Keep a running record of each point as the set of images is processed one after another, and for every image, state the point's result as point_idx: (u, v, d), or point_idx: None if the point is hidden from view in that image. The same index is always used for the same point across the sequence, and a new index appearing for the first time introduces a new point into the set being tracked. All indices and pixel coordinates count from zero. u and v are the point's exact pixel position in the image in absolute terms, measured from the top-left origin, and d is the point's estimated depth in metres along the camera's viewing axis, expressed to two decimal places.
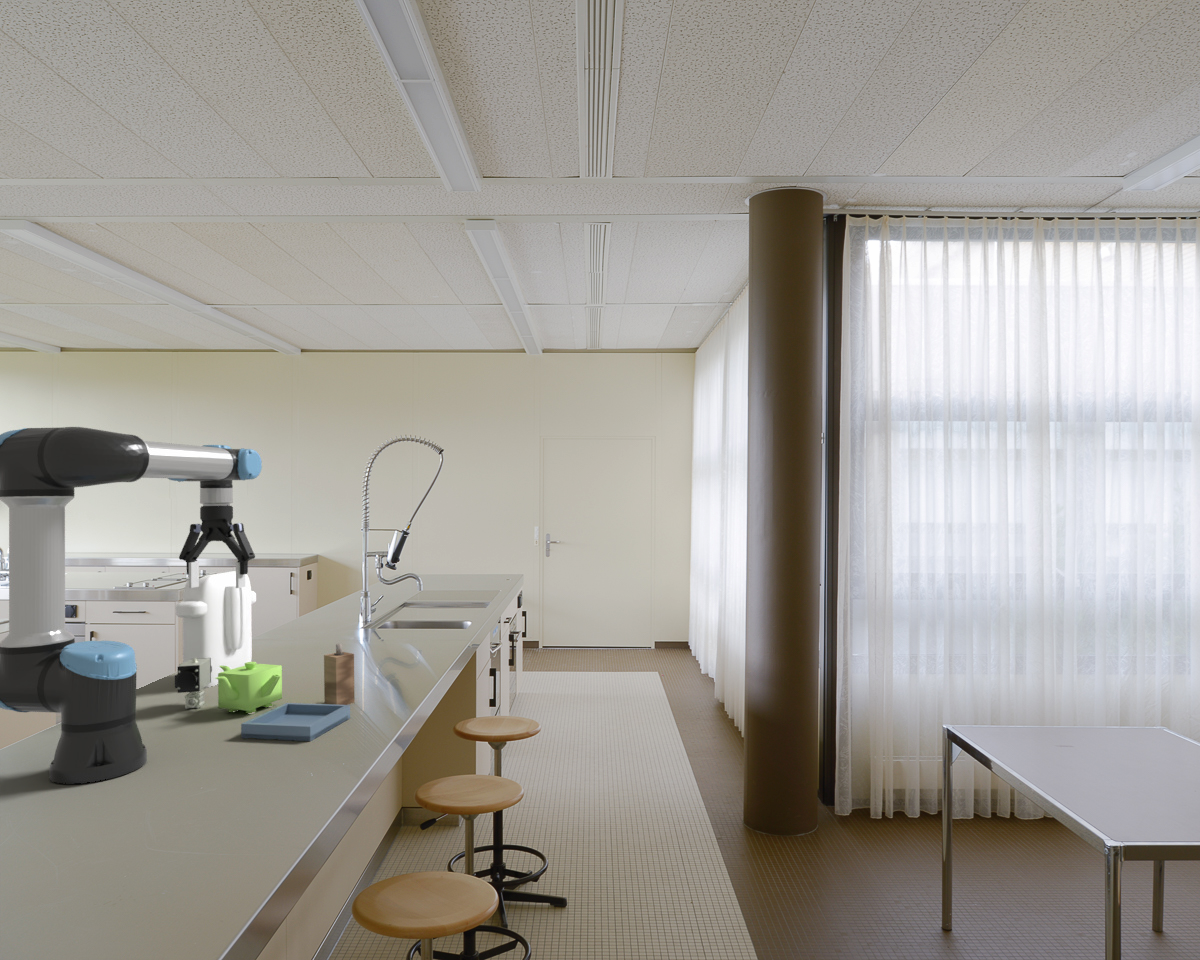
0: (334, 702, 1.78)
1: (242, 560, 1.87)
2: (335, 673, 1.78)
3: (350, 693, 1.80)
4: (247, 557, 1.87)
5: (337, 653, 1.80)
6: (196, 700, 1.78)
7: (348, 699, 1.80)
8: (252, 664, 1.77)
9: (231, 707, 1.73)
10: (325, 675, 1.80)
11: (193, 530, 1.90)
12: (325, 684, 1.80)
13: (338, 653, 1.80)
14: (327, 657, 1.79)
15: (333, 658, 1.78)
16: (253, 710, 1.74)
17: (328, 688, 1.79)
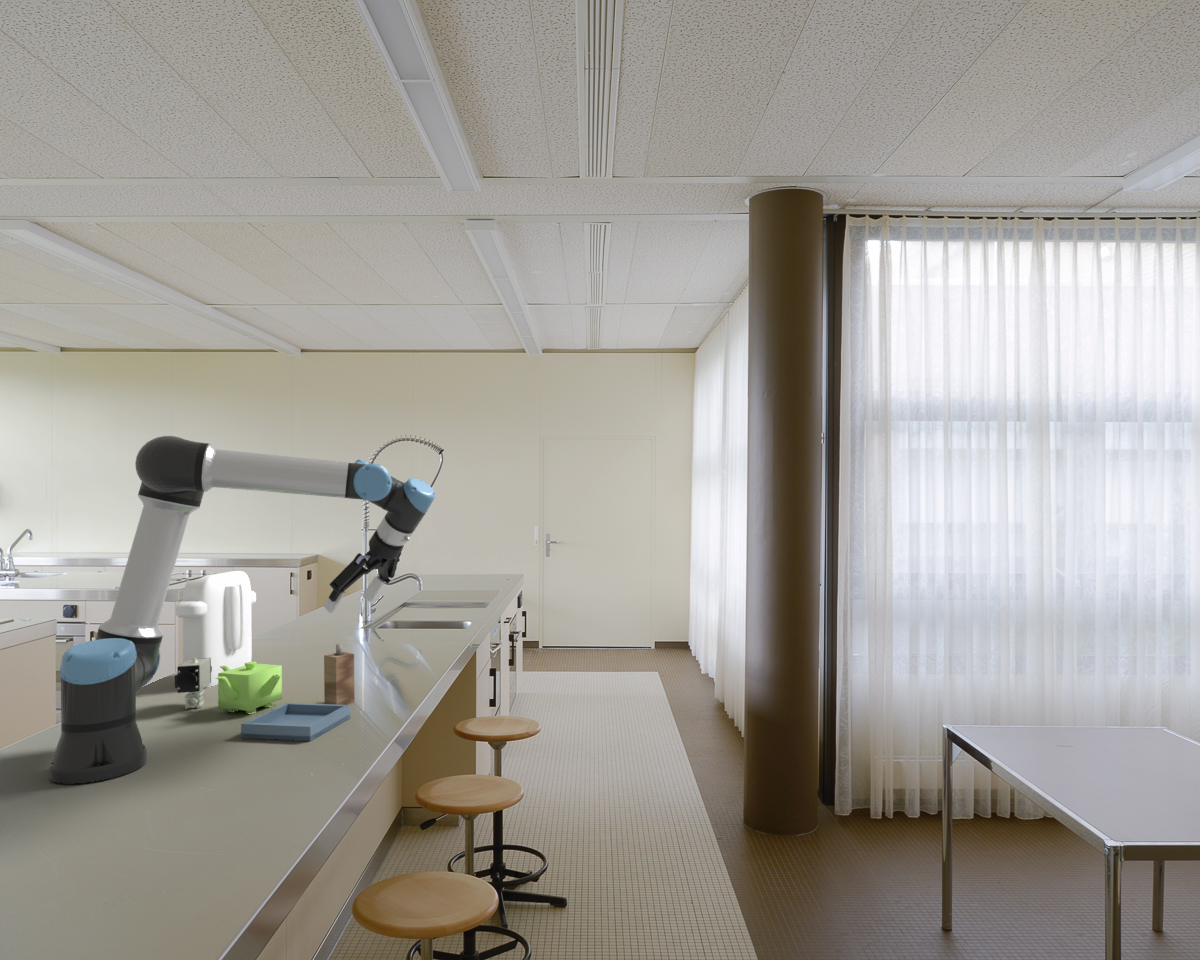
0: (334, 702, 1.78)
1: None
2: (335, 673, 1.78)
3: (350, 693, 1.80)
4: None
5: (337, 653, 1.80)
6: (196, 700, 1.78)
7: (348, 699, 1.80)
8: (252, 664, 1.77)
9: (231, 707, 1.73)
10: (325, 675, 1.80)
11: None
12: (325, 684, 1.80)
13: (338, 653, 1.80)
14: (327, 657, 1.79)
15: (333, 658, 1.78)
16: (253, 710, 1.74)
17: (328, 688, 1.79)
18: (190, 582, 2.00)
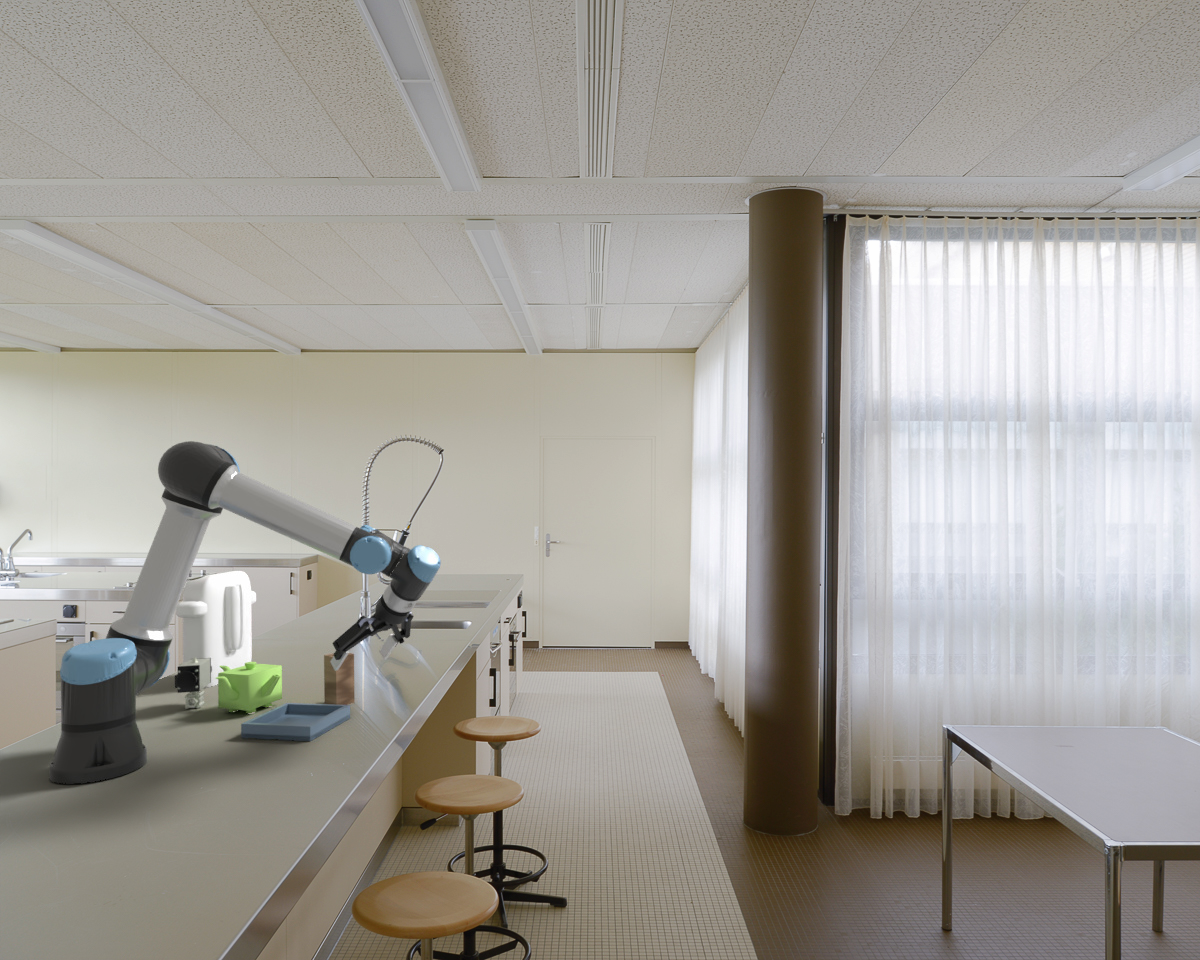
0: (334, 702, 1.78)
1: None
2: (335, 673, 1.78)
3: (350, 693, 1.80)
4: None
5: None
6: (196, 700, 1.78)
7: (348, 699, 1.80)
8: (252, 664, 1.77)
9: (231, 707, 1.73)
10: (325, 675, 1.80)
11: None
12: (325, 684, 1.80)
13: None
14: (327, 657, 1.79)
15: None
16: (253, 710, 1.74)
17: (328, 688, 1.79)
18: (190, 582, 2.00)
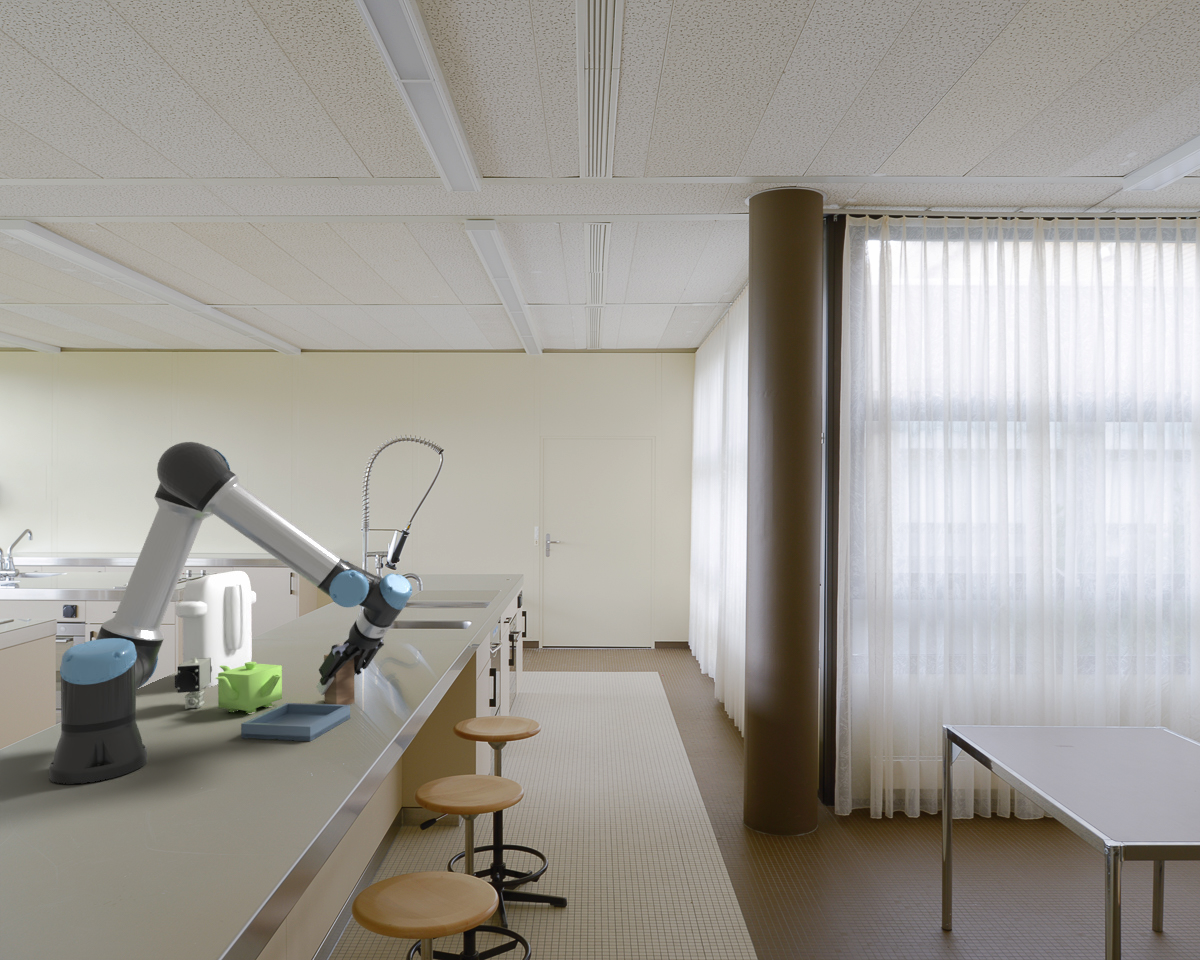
0: (334, 702, 1.78)
1: None
2: None
3: (350, 693, 1.80)
4: None
5: None
6: (196, 700, 1.78)
7: (348, 699, 1.80)
8: (252, 664, 1.77)
9: (231, 707, 1.73)
10: None
11: None
12: None
13: None
14: None
15: None
16: (253, 710, 1.74)
17: (328, 688, 1.79)
18: (190, 582, 2.00)
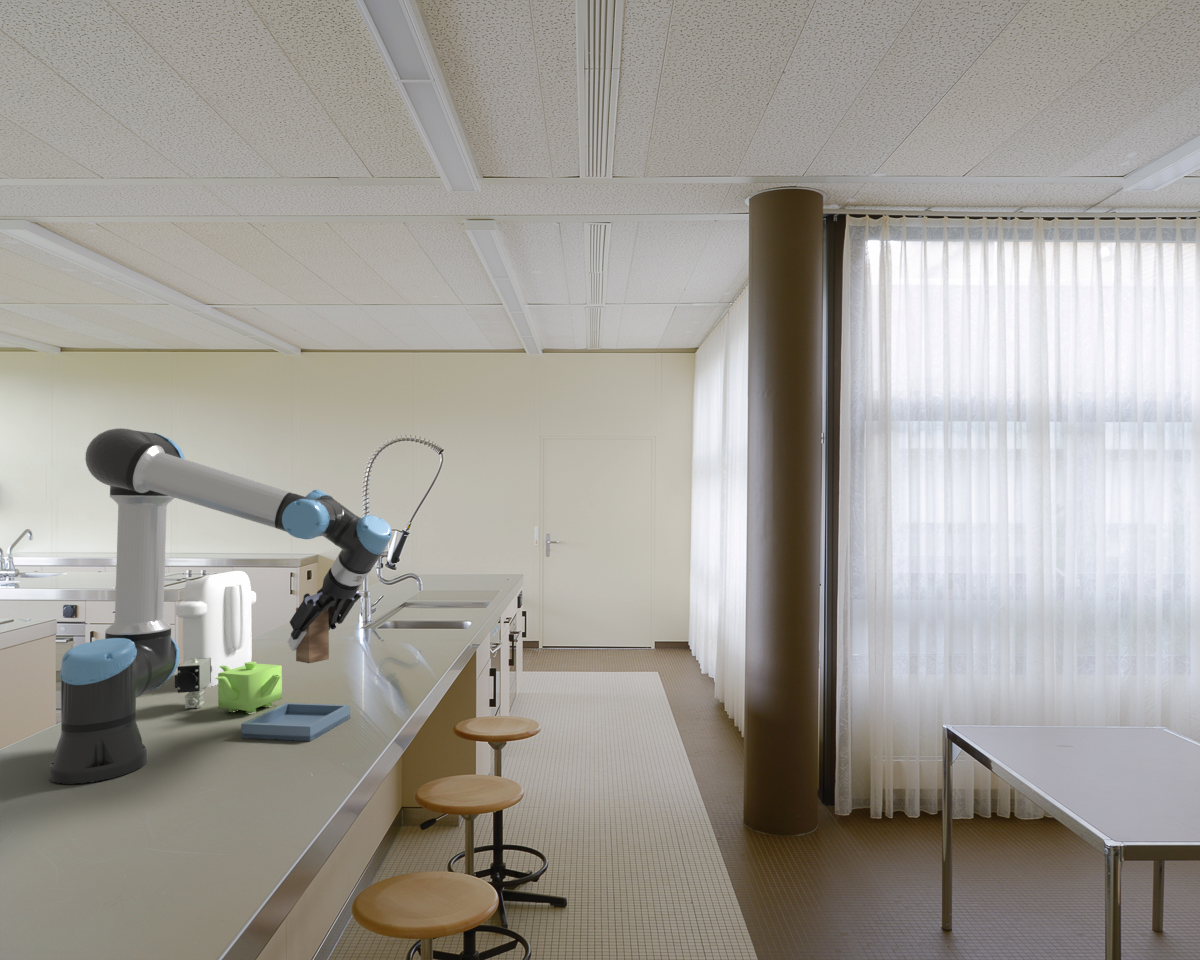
0: (306, 657, 1.65)
1: None
2: None
3: (324, 649, 1.67)
4: None
5: None
6: (196, 700, 1.78)
7: (322, 655, 1.67)
8: (252, 664, 1.77)
9: (231, 707, 1.73)
10: None
11: None
12: None
13: None
14: None
15: None
16: (253, 710, 1.74)
17: (300, 643, 1.66)
18: (190, 582, 2.00)
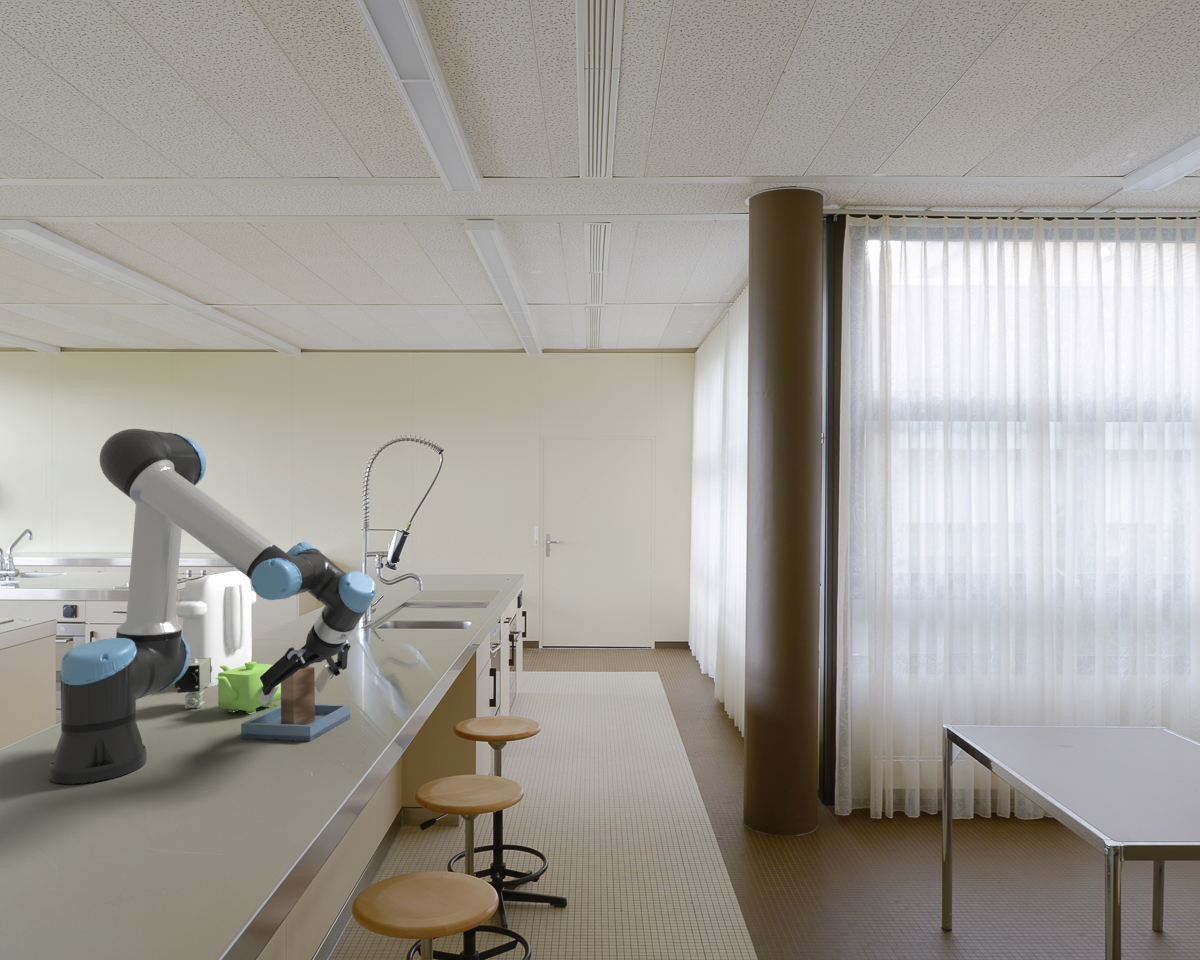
0: (291, 722, 1.59)
1: None
2: (292, 689, 1.59)
3: (310, 711, 1.61)
4: None
5: None
6: (196, 700, 1.78)
7: (308, 718, 1.61)
8: (252, 664, 1.77)
9: (231, 707, 1.73)
10: (282, 691, 1.61)
11: None
12: (281, 701, 1.61)
13: None
14: None
15: None
16: (253, 710, 1.74)
17: (285, 706, 1.60)
18: (190, 582, 2.00)
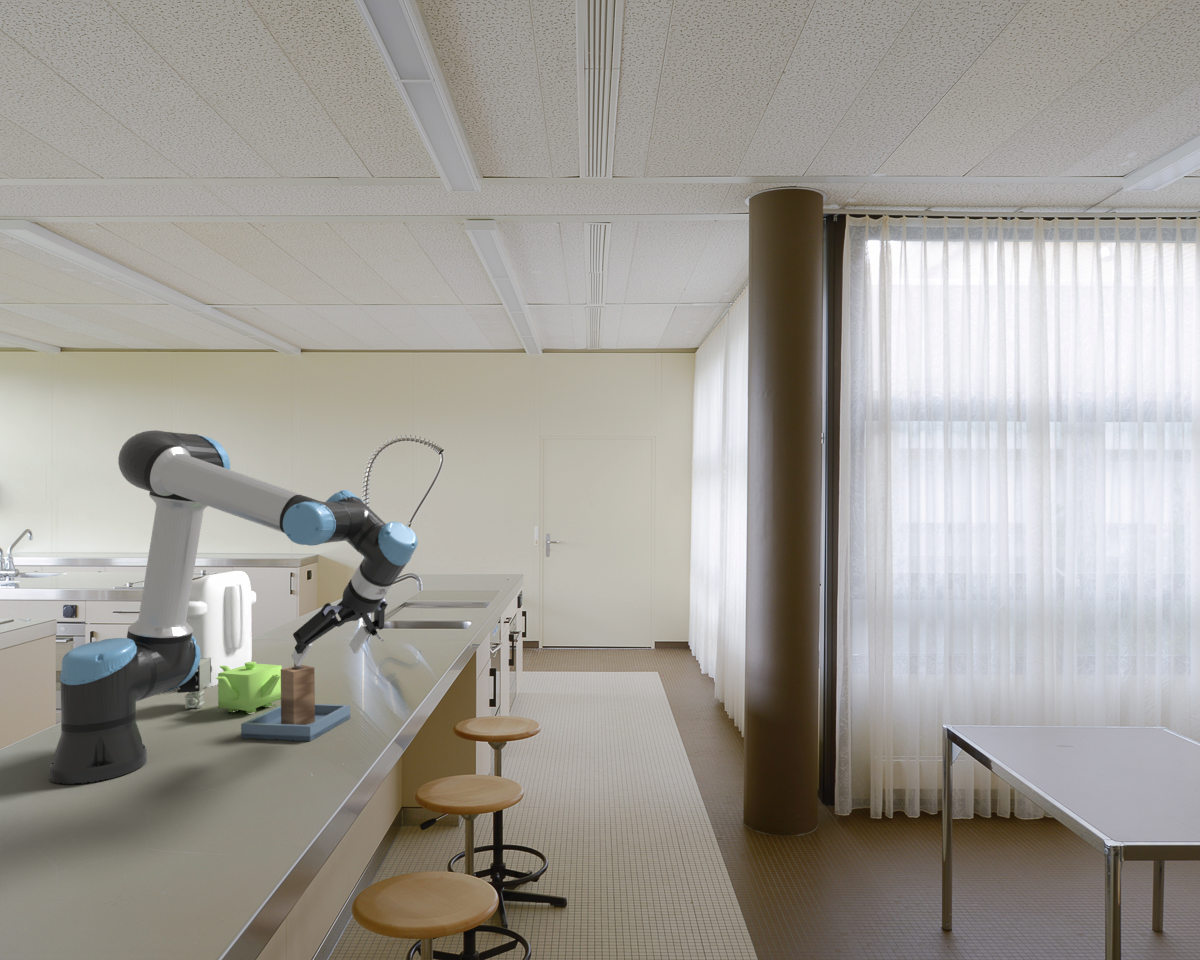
0: (291, 722, 1.59)
1: None
2: (292, 689, 1.59)
3: (310, 711, 1.61)
4: None
5: (295, 667, 1.61)
6: (196, 700, 1.78)
7: (308, 718, 1.61)
8: (252, 664, 1.77)
9: (231, 707, 1.73)
10: (282, 691, 1.61)
11: None
12: (281, 701, 1.61)
13: (296, 667, 1.61)
14: (284, 671, 1.61)
15: (290, 673, 1.59)
16: (253, 710, 1.74)
17: (285, 706, 1.60)
18: None
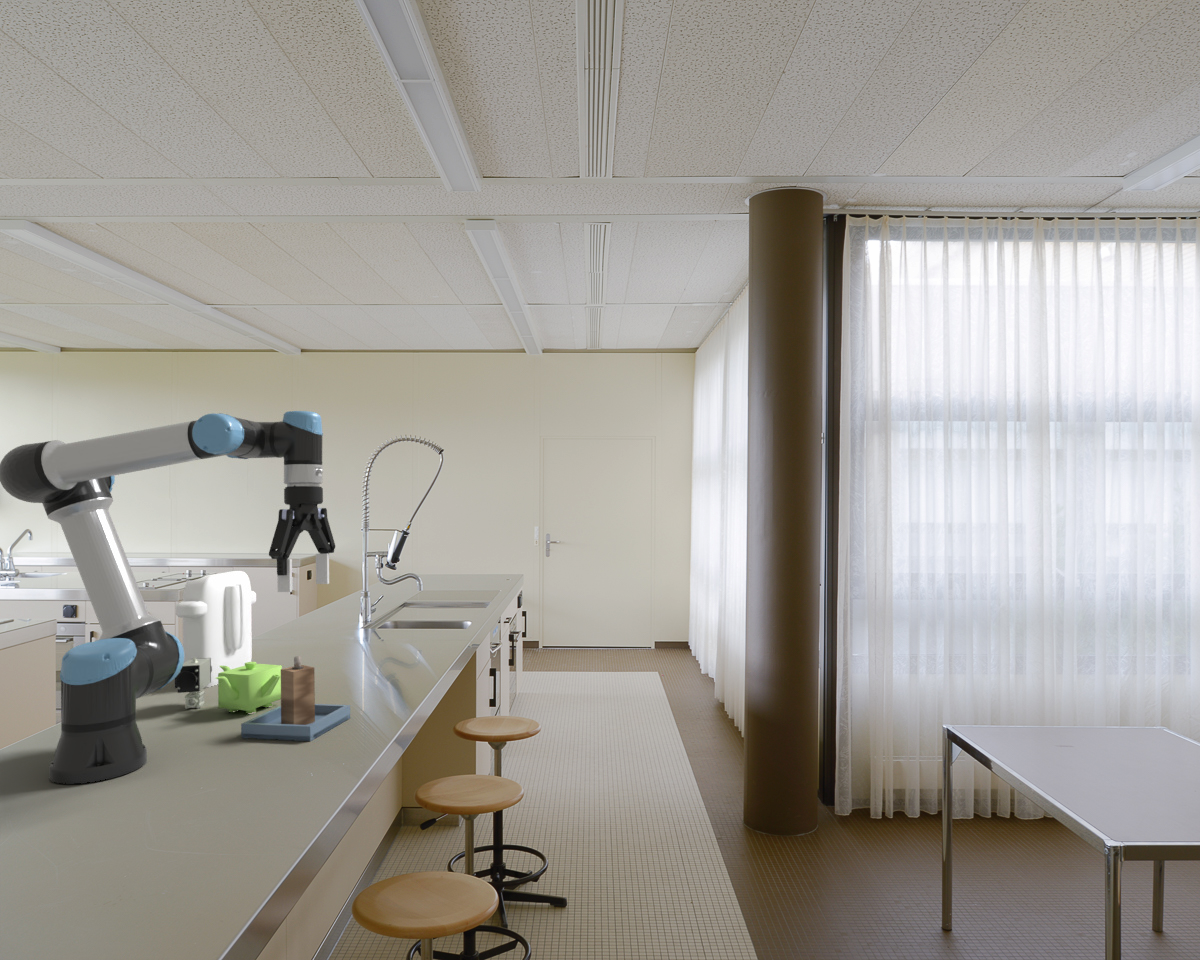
0: (291, 722, 1.59)
1: (274, 557, 1.46)
2: (292, 689, 1.59)
3: (310, 711, 1.61)
4: None
5: (295, 667, 1.61)
6: (196, 700, 1.78)
7: (308, 718, 1.61)
8: (252, 664, 1.77)
9: (231, 707, 1.73)
10: (282, 691, 1.61)
11: None
12: (281, 701, 1.61)
13: (296, 667, 1.61)
14: (284, 671, 1.61)
15: (290, 673, 1.59)
16: (253, 710, 1.74)
17: (285, 706, 1.60)
18: (190, 582, 2.00)
